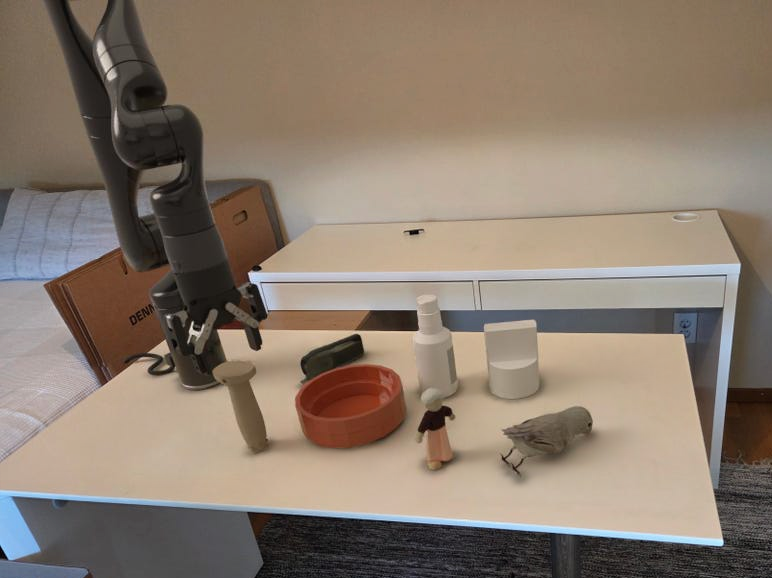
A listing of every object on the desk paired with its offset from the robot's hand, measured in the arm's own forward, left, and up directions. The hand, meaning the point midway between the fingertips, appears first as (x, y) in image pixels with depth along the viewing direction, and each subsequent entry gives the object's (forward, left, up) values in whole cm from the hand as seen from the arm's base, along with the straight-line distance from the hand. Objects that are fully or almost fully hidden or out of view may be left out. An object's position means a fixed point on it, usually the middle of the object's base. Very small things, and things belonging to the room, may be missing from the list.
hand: (231, 361), depth 96 cm
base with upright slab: (+25, +37, -17) cm, 47 cm away
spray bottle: (+14, +29, -17) cm, 36 cm away
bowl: (+8, +14, -16) cm, 23 cm away
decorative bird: (+41, +24, -17) cm, 50 cm away
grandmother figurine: (+28, +14, -17) cm, 35 cm away
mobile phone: (-10, +24, -17) cm, 31 cm away
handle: (0, 0, -17) cm, 17 cm away
